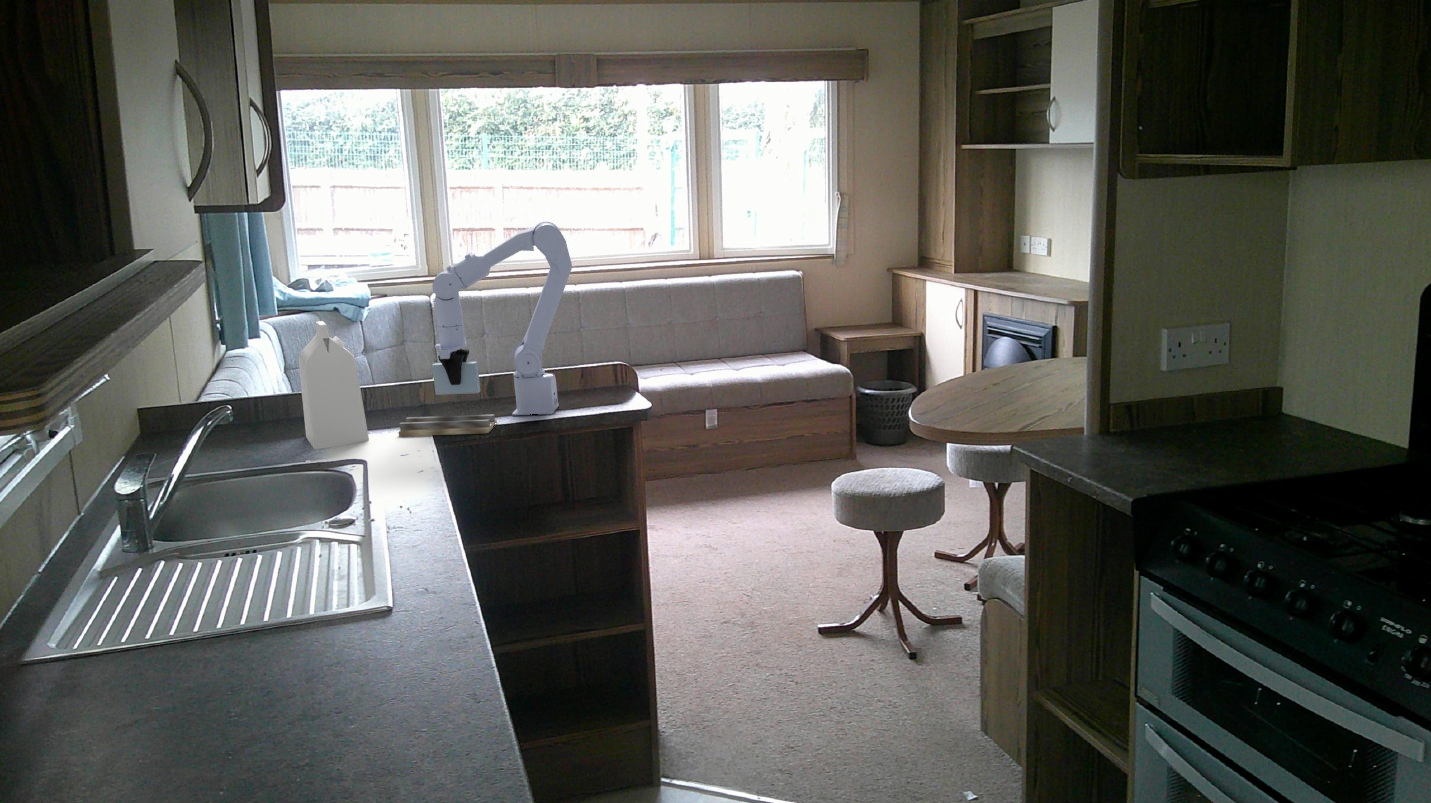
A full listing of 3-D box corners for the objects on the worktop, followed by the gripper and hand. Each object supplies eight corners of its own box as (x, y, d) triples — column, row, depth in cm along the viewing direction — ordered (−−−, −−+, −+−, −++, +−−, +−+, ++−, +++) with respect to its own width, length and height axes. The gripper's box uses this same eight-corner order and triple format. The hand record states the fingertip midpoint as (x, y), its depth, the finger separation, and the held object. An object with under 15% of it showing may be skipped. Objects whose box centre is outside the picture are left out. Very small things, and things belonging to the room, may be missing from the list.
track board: (497, 423, 258) (495, 412, 258) (487, 433, 250) (486, 422, 250) (410, 426, 260) (409, 415, 259) (398, 436, 252) (397, 425, 251)
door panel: (480, 391, 264) (477, 361, 262) (478, 393, 262) (475, 363, 260) (438, 392, 265) (434, 363, 263) (435, 394, 263) (432, 365, 261)
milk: (306, 437, 256) (289, 322, 249) (358, 428, 261) (343, 316, 254) (314, 449, 245) (297, 330, 239) (369, 440, 250) (353, 323, 244)
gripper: (442, 320, 267) (449, 376, 270) (423, 331, 253) (430, 391, 256) (472, 318, 266) (478, 375, 269) (454, 330, 252) (461, 390, 255)
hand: (457, 383), depth 263 cm, fingers closed on door panel, 2 cm apart
